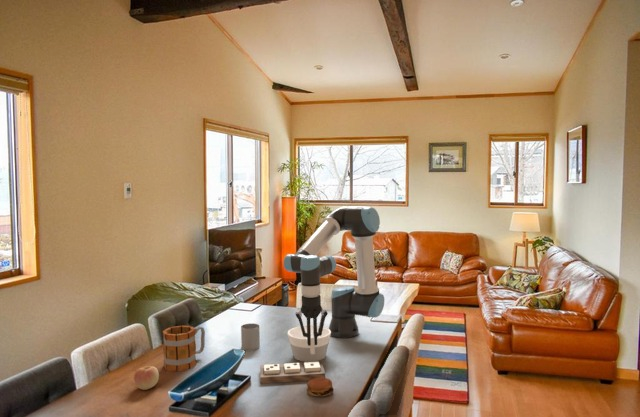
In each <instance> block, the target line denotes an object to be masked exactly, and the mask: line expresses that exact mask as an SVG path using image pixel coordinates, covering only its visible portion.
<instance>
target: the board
mask: <svg viewBox="0 0 640 417" xmlns="http://www.w3.org/2000/svg"><path fill="white" fill-rule="evenodd" d="M318 362H319V364H320V369H321V371H310V372H305V371H304V362H298V363H299V365H300V372H294V373H284V364H285V363H281V364H280V363H278V364H279V368H280V373H278V374H264V365H265V364H262V365H259V366H260V368H259V369H260V371H259V372H260V375H259V376H260V379H259V381H260V384H261V385H262V384H275V383H277V384H278V383H291V382H293V383H294V382H306V381H308V382H309V381H310V380H312V379H314V378H326V372H325V367H324V366H323V363H322V361H318Z"/></svg>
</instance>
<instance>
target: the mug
mask: <svg viewBox="0 0 640 417" xmlns="http://www.w3.org/2000/svg"><path fill="white" fill-rule="evenodd" d="M198 331H200V333H201V334H200V348H199V350H196V349H197V344H196V335H197V333H198ZM205 335H206V331H205V328H204V327H203V326H197V327H195V328H194V326H192V325H177V326H170V327H169V326H168V327H167V328H165V329H164V330H162V336H163V346H162V349H163V356H164V357H163V367H164V369H165V370H166V371H169V372H182V371H188V370H190V369H192V368H194V367H195V366H197V360H196V357H197V356H196V355H198V354H201V353H203V351H204V350H205V349H204V348H205V344H206V343H205V338H206V336H205Z"/></svg>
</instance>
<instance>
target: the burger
mask: <svg viewBox="0 0 640 417" xmlns="http://www.w3.org/2000/svg"><path fill="white" fill-rule="evenodd" d="M334 390H335V389H334V387H333V382H332V380H331V379H330V378H326V377H325V378H314V379H312V380H308V382H307V384H306V393H307V395H309V396H311V397H322V398H323V397H327V396H329V395H331V394H332V393H333V392H334Z"/></svg>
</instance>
